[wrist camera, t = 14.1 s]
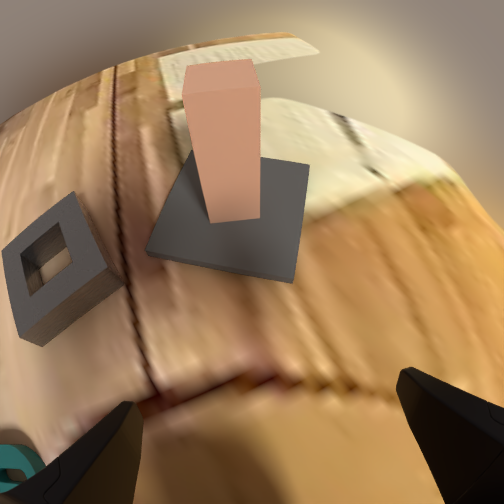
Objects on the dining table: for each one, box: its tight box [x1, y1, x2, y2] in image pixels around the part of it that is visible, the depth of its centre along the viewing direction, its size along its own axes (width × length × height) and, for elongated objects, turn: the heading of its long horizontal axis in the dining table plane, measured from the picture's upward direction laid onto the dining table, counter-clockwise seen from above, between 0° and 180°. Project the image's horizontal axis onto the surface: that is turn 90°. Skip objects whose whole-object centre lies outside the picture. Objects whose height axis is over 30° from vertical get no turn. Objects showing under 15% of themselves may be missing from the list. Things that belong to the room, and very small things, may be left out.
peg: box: [182, 59, 260, 224], centre depth 21 cm, size 4×4×13 cm
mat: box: [145, 150, 310, 283], centre depth 27 cm, size 13×13×1 cm
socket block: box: [2, 191, 124, 347], centre depth 23 cm, size 11×11×4 cm
